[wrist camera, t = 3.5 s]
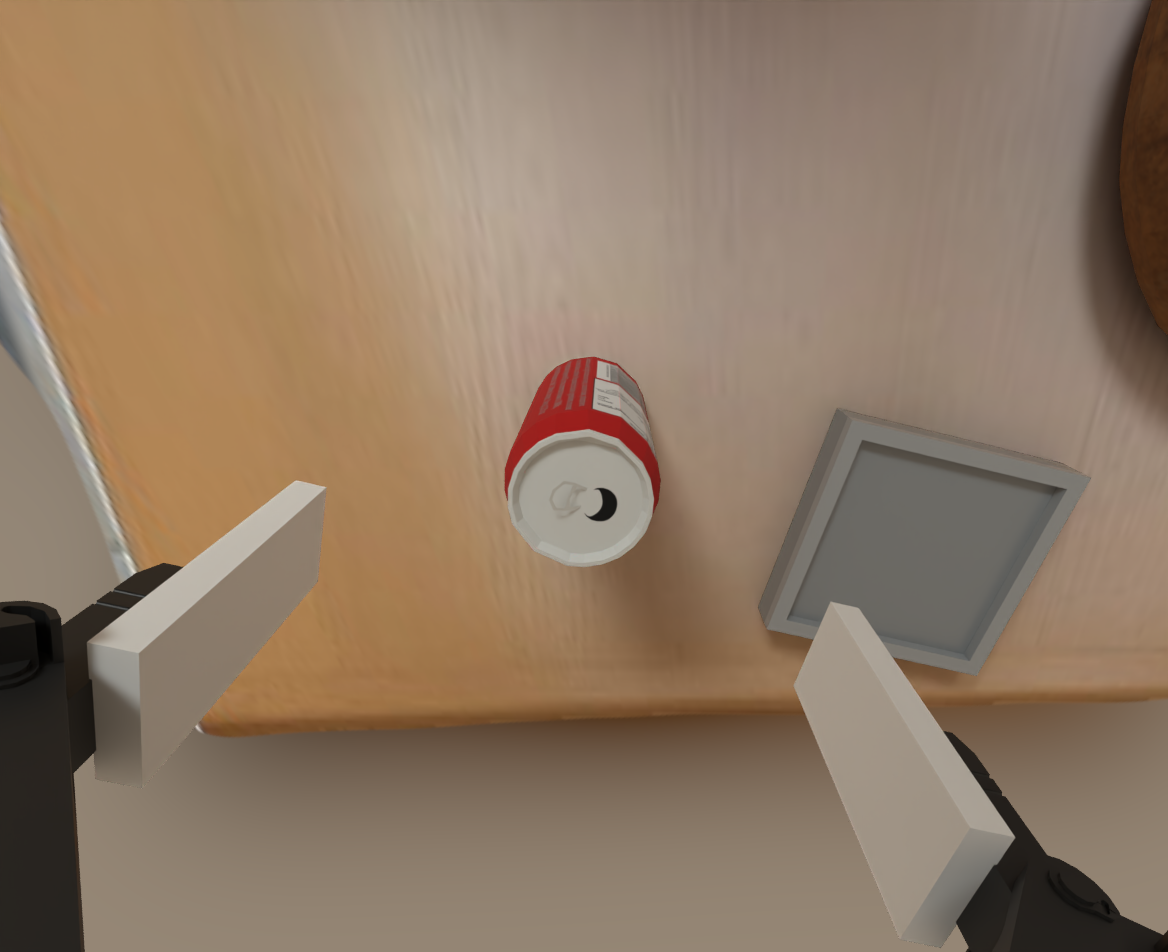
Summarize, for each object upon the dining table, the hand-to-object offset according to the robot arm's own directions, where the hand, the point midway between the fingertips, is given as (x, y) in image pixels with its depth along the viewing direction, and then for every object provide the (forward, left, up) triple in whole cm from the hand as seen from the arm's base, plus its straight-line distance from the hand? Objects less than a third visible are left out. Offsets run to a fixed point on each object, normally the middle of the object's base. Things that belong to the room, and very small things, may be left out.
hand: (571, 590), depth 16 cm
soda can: (0, 0, -17) cm, 17 cm away
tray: (+18, -3, -17) cm, 25 cm away
